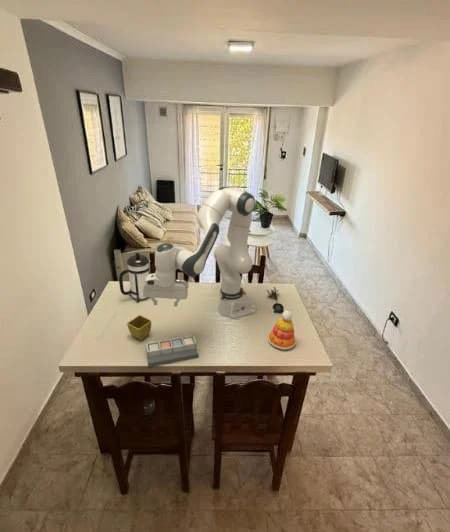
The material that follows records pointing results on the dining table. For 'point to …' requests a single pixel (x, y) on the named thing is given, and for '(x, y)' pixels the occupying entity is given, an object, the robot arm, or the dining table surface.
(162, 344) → the key terracotta
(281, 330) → the stacking toy
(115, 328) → the dining table surface
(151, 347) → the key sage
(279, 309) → the artificial flower
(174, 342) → the key slate
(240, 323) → the dining table surface
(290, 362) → the dining table surface
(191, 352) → the keypad
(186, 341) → the key ivory
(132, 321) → the flower pot
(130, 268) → the coffee press
